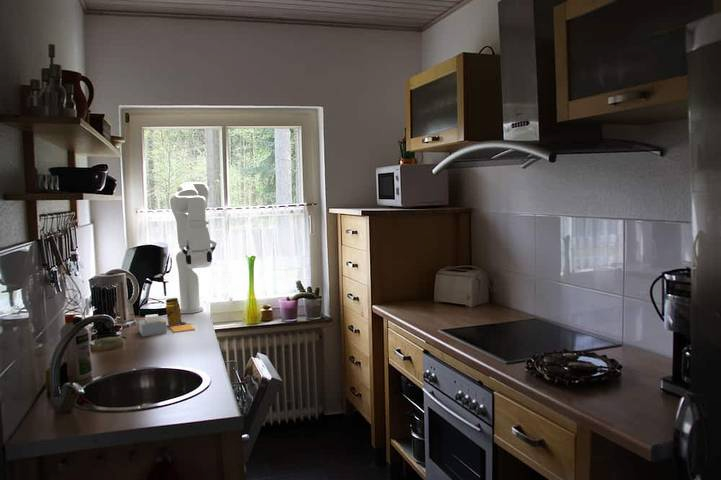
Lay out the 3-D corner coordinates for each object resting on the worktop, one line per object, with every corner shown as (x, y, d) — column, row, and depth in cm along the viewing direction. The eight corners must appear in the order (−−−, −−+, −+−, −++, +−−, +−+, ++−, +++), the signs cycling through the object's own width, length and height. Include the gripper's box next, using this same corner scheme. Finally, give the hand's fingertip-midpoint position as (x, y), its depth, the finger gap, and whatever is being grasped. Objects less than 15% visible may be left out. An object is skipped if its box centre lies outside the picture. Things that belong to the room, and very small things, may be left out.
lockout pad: (169, 327, 272) (169, 326, 272) (189, 325, 276) (189, 324, 276) (174, 332, 262) (174, 331, 262) (194, 329, 266) (194, 328, 266)
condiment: (164, 326, 275) (160, 300, 275) (175, 322, 283) (172, 297, 283) (177, 325, 273) (174, 299, 272) (188, 321, 281) (185, 296, 280)
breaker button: (145, 324, 265) (145, 315, 264) (157, 322, 267) (157, 313, 267) (147, 326, 260) (146, 317, 260) (159, 324, 263) (158, 315, 262)
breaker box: (139, 331, 266) (138, 319, 266) (162, 328, 271) (162, 316, 270) (142, 336, 257) (141, 323, 257) (166, 333, 262) (165, 320, 261)
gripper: (211, 223, 273) (213, 260, 274) (174, 225, 262) (177, 264, 263) (219, 223, 268) (221, 261, 269) (182, 225, 256) (184, 265, 257)
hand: (199, 263), depth 266 cm, fingers open, 9 cm apart
